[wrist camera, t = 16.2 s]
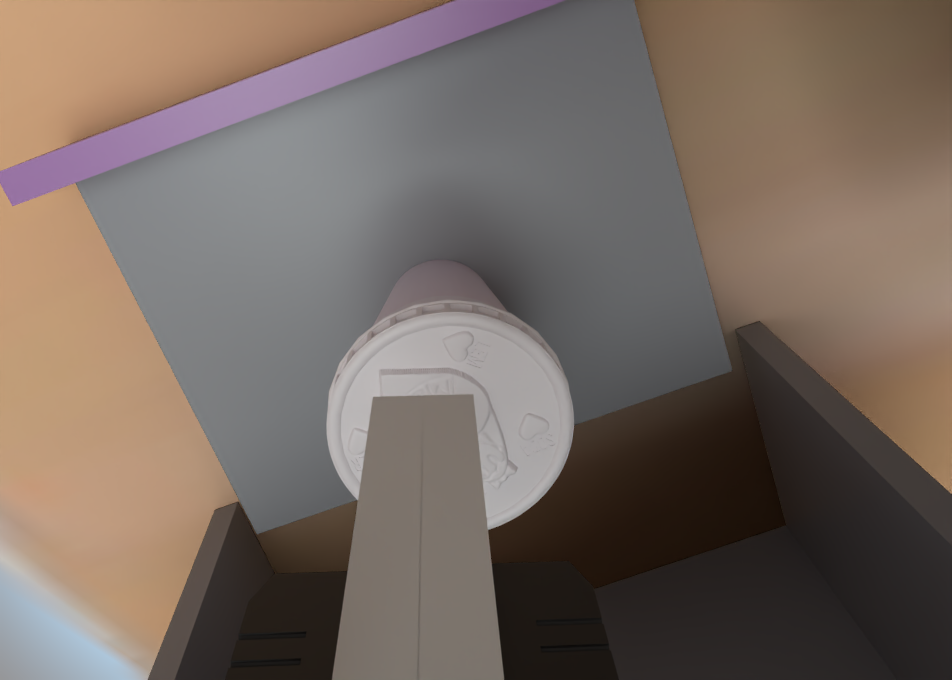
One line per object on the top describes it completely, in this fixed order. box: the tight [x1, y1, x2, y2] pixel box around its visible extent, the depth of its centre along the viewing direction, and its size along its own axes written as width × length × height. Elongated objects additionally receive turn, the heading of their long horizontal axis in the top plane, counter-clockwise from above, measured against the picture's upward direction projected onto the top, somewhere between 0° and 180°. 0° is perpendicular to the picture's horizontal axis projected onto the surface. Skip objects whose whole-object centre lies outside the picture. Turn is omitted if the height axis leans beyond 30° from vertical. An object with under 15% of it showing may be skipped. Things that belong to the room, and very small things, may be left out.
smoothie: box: [326, 260, 574, 530], centre depth 25 cm, size 6×6×14 cm
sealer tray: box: [0, 0, 732, 534], centre depth 30 cm, size 16×20×6 cm
